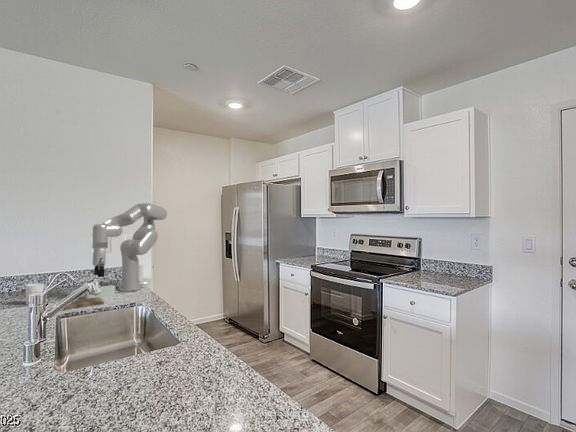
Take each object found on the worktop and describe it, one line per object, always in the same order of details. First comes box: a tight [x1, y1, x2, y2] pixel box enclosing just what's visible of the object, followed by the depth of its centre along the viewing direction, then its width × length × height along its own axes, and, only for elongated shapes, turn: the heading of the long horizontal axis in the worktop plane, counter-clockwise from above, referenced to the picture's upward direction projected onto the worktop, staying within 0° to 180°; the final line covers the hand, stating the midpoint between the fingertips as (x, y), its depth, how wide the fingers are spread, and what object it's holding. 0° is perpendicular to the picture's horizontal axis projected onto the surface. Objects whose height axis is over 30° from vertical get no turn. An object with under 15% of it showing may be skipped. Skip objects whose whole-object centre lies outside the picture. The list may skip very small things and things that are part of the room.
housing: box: [84, 284, 116, 299], centre depth 181 cm, size 14×6×6 cm, turn 131°
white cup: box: [24, 282, 45, 306], centre depth 169 cm, size 8×8×10 cm
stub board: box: [53, 293, 104, 311], centre depth 164 cm, size 20×12×5 cm, turn 131°
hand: (99, 275), depth 181 cm, fingers open, 9 cm apart
